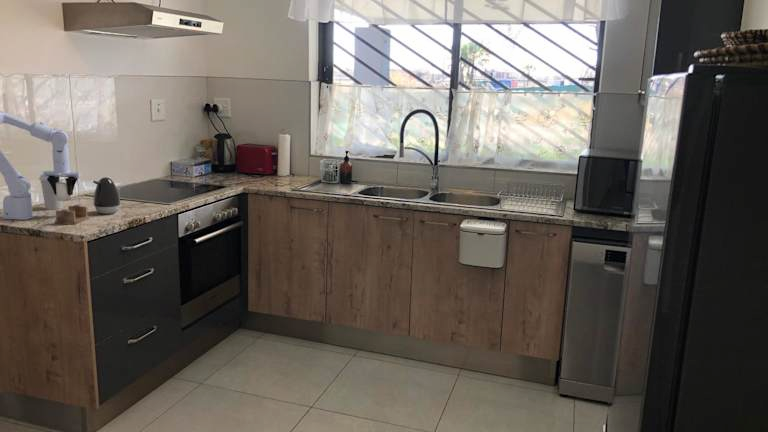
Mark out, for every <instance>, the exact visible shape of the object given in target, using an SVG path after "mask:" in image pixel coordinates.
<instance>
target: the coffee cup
mask: <svg viewBox="0 0 768 432" xmlns="http://www.w3.org/2000/svg"><path fill="white" fill-rule="evenodd" d="M48 177H49V176H43V172H42V173H41V174H40V175H39V178H38V179H39V181H40V184H41V185H40V186H41V191H42V196H43V202H44V207H45V209H46V210H47V211H48V210H50V211H52V210H53V211H57V210H62V209H64V206H63V205H64V201H58V200H57V195H55V194H54V191H53V189H52V186H51V185H50V183H49V182H48V180H47V178H48ZM64 180H65V177H60V178H59V182H64Z"/></svg>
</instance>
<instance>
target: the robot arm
mask: <svg viewBox="0 0 768 432" xmlns="http://www.w3.org/2000/svg"><path fill="white" fill-rule="evenodd" d="M1 124H2V125H3V124H6V125H11V126H13V127H16V128H18V129H22V130H25V131H27V132H29V134H30V135H31V137H34V138H37V139H40V140H42V141H44V142H45V141H46V142H48V143H49V142H50V143H51V145H52V152H51V153H52V163H53V164H52V166H53V170H43V171H42V173H43V176H49V177H48V178H47V180H48V182H49V183H50V185H51V186H52V189H53V191H54V194H55V195H57V193H56V183H57V182H59V178H60V177H64V180H65V182H66V183H67V189H68V195H71V196H72V195H73V193H74V189H75V186H76V183H77V181H78V179H80V178H82V172H77V171H71V169H70V167H71V166H70V153H69V149H68V148H69V145H68V142H69V136H68V134H67V132H66V131H63V129H58V128H56V127H51V126H48V125H46V124H45V123H44V122H42V121H40V122H37V121H36V122H34V123H31V122H29V121H27V120H25V119H23V118H19V117H17V116H15V115H12V114H10V113H8V112H5V111H2V110H0V125H1ZM0 173H1V175H2V177H3V179H4V181H5V184H6V185H7V188H8V192H9V195H5V196H4V197H3V200H2V211H3V217H2V219H4V220H19V221H20V220H22V221H23V220H24V221H27V220H30V219H32V218H35V217H38V214H33V201H32V194H31V193H30V192H29V190H30V189H31V186H32V185H31V182H30V180H29V179H28V178H26V177H25V176H23V175H22V174H21V172H20V171H18V170H17V169H16V168H15V167H14V164H13V163H12V162H11V161H10V160H9V158H8V156H7V155H6V154H5V152H4V151H3V150H2V148H1V147H0Z"/></svg>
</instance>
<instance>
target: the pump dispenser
mask: <svg viewBox="0 0 768 432" xmlns="http://www.w3.org/2000/svg"><path fill="white" fill-rule="evenodd" d="M92 183H94V184H96V187H95V190H94V194H93V195H94V196H93V206H94V208H95V210H96V212H98V213H99V214H101V215H111V214H115V213H116V212H117V211H119V208H120V206H121V199H120V194H119V191H118V188H117V186H116V184H115V183H114V181H113V180H112V178H109V177H106V176H105V177H101V178H100V179H99V180H93V182H92Z"/></svg>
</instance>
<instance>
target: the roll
mask: <svg viewBox="0 0 768 432" xmlns="http://www.w3.org/2000/svg"><path fill="white" fill-rule="evenodd" d="M56 193H57V200H58V201H63V202H68V201H71V200H72V197H71V196H72V195H68V189H67V183H66V181H63V182H57V183H56Z"/></svg>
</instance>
